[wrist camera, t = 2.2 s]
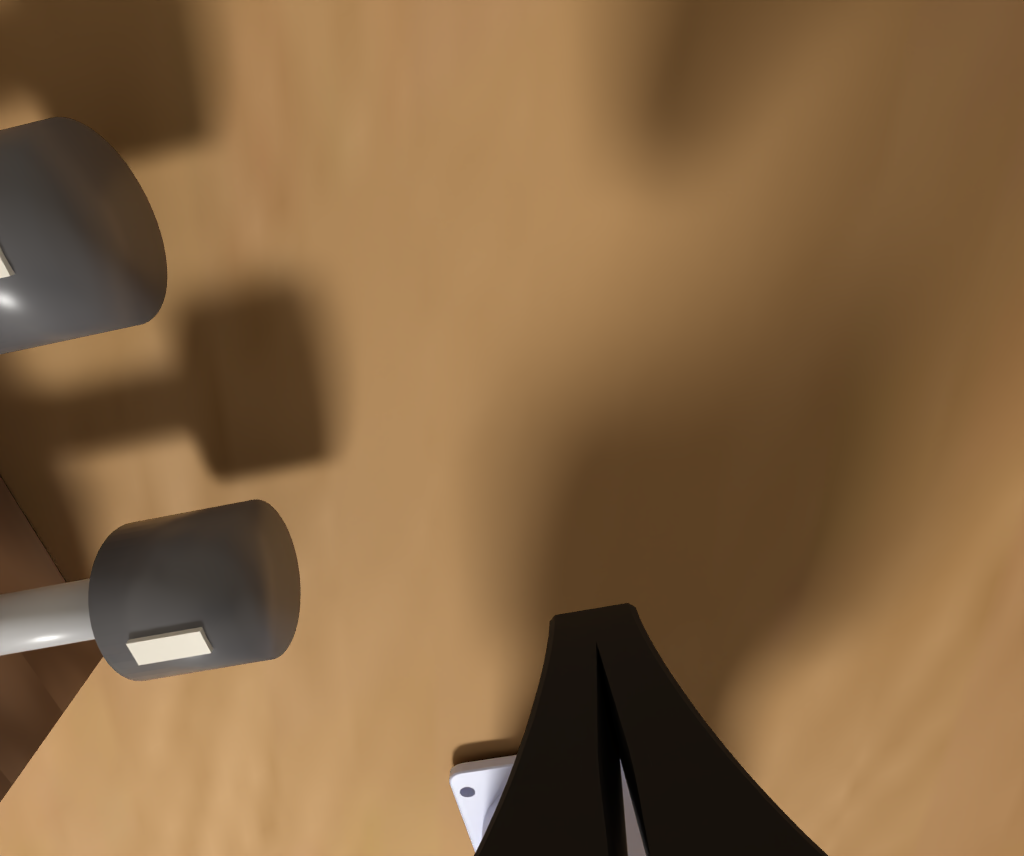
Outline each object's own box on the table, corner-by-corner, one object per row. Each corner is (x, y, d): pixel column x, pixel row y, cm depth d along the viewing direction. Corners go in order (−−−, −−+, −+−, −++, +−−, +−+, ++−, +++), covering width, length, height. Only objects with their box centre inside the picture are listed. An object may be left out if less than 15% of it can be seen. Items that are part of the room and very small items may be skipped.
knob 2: (312, 587, 18) (269, 699, 15) (4, 641, 19) (-102, 759, 16) (263, 471, 17) (203, 566, 13) (-71, 534, 17) (-206, 640, 14)
